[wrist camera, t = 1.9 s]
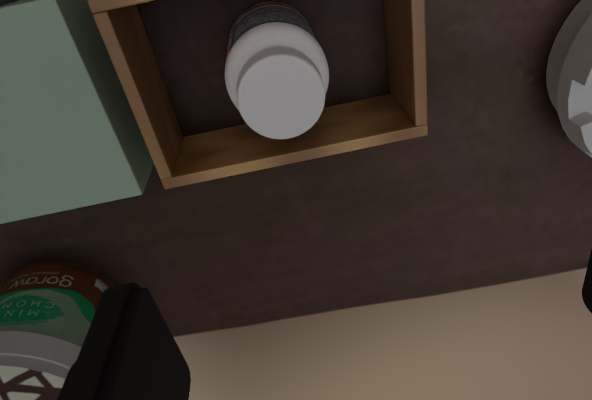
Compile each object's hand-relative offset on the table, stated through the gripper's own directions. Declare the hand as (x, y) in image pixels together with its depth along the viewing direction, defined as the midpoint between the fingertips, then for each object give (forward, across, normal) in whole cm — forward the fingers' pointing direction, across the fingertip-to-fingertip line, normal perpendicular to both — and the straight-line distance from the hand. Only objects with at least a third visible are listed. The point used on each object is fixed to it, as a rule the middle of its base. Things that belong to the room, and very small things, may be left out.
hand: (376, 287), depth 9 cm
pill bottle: (+22, +2, 0) cm, 22 cm away
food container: (+21, +22, +14) cm, 34 cm away
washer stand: (+21, +16, 0) cm, 26 cm away
